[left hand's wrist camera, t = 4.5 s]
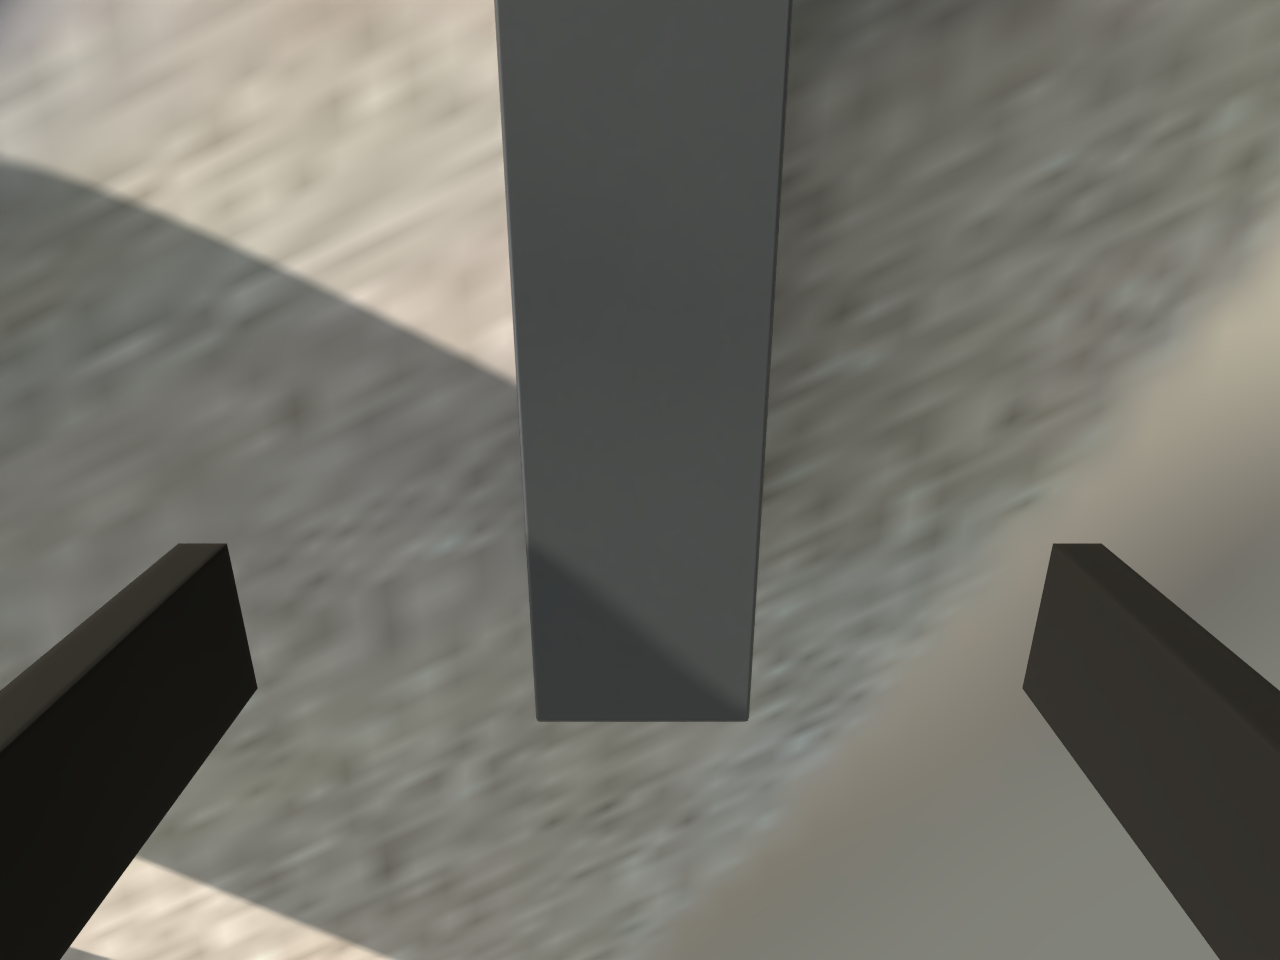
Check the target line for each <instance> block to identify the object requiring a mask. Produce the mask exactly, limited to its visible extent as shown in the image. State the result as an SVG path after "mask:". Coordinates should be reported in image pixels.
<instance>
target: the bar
mask: <svg viewBox="0 0 1280 960" xmlns="http://www.w3.org/2000/svg"><path fill="white" fill-rule="evenodd" d="M792 2H793V0H494V5H495V22H496V39H497V56H498V73H499V90H500V107H501V124H502V141H503V158H504V175H505V192H506V210H507V227H508V244H509V261H510V278H511V295H512V312H513V329H514V346H515V363H516V380H517V397H518V414H519V431H520V448H521V466H522V483H523V500H524V517H525V534H526V551H527V568H528V585H529V602H530V619H531V636H532V653H533V670H534V687H535V704H536V718H537V720H538V721H540V722H727V721H748V718H749V706H750V690H751V673H752V657H753V641H754V624H755V608H756V591H757V575H758V559H759V542H760V526H761V510H762V493H763V477H764V460H765V444H766V428H767V411H768V395H769V378H770V362H771V346H772V329H773V313H774V297H775V280H776V264H777V247H778V231H779V215H780V198H781V182H782V165H783V149H784V133H785V116H786V100H787V84H788V67H789V51H790V34H791V18H792Z"/></svg>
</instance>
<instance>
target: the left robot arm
mask: <svg viewBox="0 0 1280 960" xmlns="http://www.w3.org/2000/svg"><path fill="white" fill-rule="evenodd" d="M256 690H257V684H256V679H255V674H254V670H253V665H252V660H251V655H250V651H249V646H248V641H247V637H246V632H245V627H244V622H243V618H242V613H241V608H240V603H239V599H238V594H237V589H236V585H235V580H234V575H233V570H232V566H231V561H230V556H229V552H228V547H227V544H178V545H176V546H175V547H174V548H173V549H172V550H170V551H169V552H168V553H167V554H165V555H164V556H163V557H162V558H161V559H159V560H158V561H157V562H156V563H155V564H153V565H152V566H151V567H150V568H149V569H147V570H146V571H145V572H144V573H142V574H141V575H140V576H139V577H138V578H136V579H135V580H134V581H133V582H132V583H130V584H129V585H128V586H127V587H126V588H124V589H123V590H122V591H121V592H119V593H118V594H117V595H116V596H115V597H113V598H112V599H111V600H110V601H109V602H107V603H106V604H105V605H104V606H103V607H101V608H100V609H99V610H98V611H96V612H95V613H94V614H93V615H92V616H90V617H89V618H88V619H87V620H86V621H84V622H83V623H82V624H81V625H80V626H78V627H77V628H76V629H75V630H73V631H72V632H71V633H70V634H69V635H67V636H66V637H65V638H64V639H63V640H61V641H60V642H59V643H58V644H57V645H55V646H54V647H53V648H52V649H50V650H49V651H48V652H47V653H46V654H44V655H43V656H42V657H41V658H40V659H38V660H37V661H36V662H35V663H34V664H32V665H31V666H30V667H29V668H27V669H26V670H25V671H24V672H23V673H21V674H20V675H19V676H18V677H17V678H15V679H14V680H13V681H12V682H11V683H9V684H8V685H7V686H6V687H4V688H3V689H2V690H1V691H0V960H60V959H61V958H62V956H63V955H64V954H65V952H66V951H67V949H68V948H69V947H70V945H71V944H72V943H73V941H74V940H75V938H76V937H77V936H78V934H79V933H80V932H81V930H82V929H83V927H84V926H85V925H86V923H87V922H88V921H89V919H90V918H91V916H92V915H93V914H94V912H95V911H96V910H97V908H98V907H99V905H100V904H101V903H102V901H103V900H104V899H105V897H106V896H107V894H108V893H109V892H110V890H111V889H112V888H113V886H114V885H115V883H116V882H117V881H118V879H119V878H120V877H121V875H122V874H123V872H124V871H125V870H126V868H127V867H128V866H129V864H130V863H131V861H132V860H133V859H134V857H135V856H136V855H137V853H138V852H139V850H140V849H141V848H142V846H143V845H144V844H145V842H146V841H147V839H148V838H149V837H150V835H151V834H152V833H153V831H154V830H155V828H156V827H157V826H158V824H159V823H160V822H161V820H162V819H163V817H164V816H165V815H166V813H167V812H168V811H169V809H170V808H171V806H172V805H173V804H174V802H175V801H176V800H177V798H178V797H179V795H180V794H181V793H182V791H183V790H184V789H185V787H186V786H187V784H188V783H189V782H190V780H191V779H192V778H193V776H194V775H195V773H196V772H197V771H198V769H199V768H200V767H201V765H202V764H203V762H204V761H205V760H206V758H207V757H208V756H209V754H210V753H211V751H212V750H213V749H214V747H215V746H216V745H217V743H218V742H219V740H220V739H221V738H222V736H223V735H224V734H225V732H226V731H227V729H228V728H229V727H230V725H231V724H232V723H233V721H234V720H235V718H236V717H237V716H238V714H239V713H240V712H241V710H242V709H243V707H244V706H245V705H246V703H247V702H248V701H249V699H250V698H251V697H252V695H253V694H254V692H255V691H256ZM1023 690H1024V691H1025V692H1026V694H1027V695H1028V696H1029V698H1030V699H1031V701H1032V702H1033V703H1034V705H1035V706H1036V707H1037V709H1038V710H1039V712H1040V713H1041V714H1042V716H1043V717H1044V718H1045V720H1046V721H1047V723H1048V724H1049V725H1050V727H1051V728H1052V729H1053V731H1054V732H1055V734H1056V735H1057V736H1058V738H1059V739H1060V740H1061V742H1062V743H1063V745H1064V746H1065V747H1066V749H1067V750H1068V751H1069V753H1070V754H1071V756H1072V757H1073V758H1074V760H1075V761H1076V762H1077V764H1078V765H1079V767H1080V768H1081V769H1082V771H1083V772H1084V773H1085V775H1086V776H1087V778H1088V779H1089V780H1090V782H1091V783H1092V784H1093V786H1094V787H1095V789H1096V790H1097V791H1098V793H1099V794H1100V795H1101V797H1102V798H1103V800H1104V801H1105V802H1106V804H1107V805H1108V806H1109V808H1110V809H1111V811H1112V812H1113V813H1114V815H1115V816H1116V817H1117V819H1118V820H1119V822H1120V823H1121V824H1122V826H1123V827H1124V828H1125V830H1126V831H1127V833H1128V834H1129V835H1130V837H1131V838H1132V839H1133V841H1134V842H1135V844H1136V845H1137V846H1138V848H1139V849H1140V850H1141V852H1142V853H1143V855H1144V856H1145V857H1146V859H1147V860H1148V861H1149V863H1150V864H1151V866H1152V867H1153V868H1154V870H1155V871H1156V872H1157V874H1158V875H1159V877H1160V878H1161V879H1162V881H1163V882H1164V883H1165V885H1166V886H1167V888H1168V889H1169V890H1170V892H1171V893H1172V894H1173V896H1174V897H1175V899H1176V900H1177V901H1178V903H1179V904H1180V905H1181V907H1182V908H1183V910H1184V911H1185V912H1186V914H1187V915H1188V916H1189V918H1190V919H1191V921H1192V922H1193V923H1194V925H1195V926H1196V927H1197V929H1198V930H1199V932H1200V933H1201V934H1202V936H1203V937H1204V938H1205V940H1206V941H1207V943H1208V944H1209V945H1210V947H1211V948H1212V949H1213V951H1214V952H1215V954H1216V955H1217V956H1218V958H1219V959H1220V960H1280V691H1279V690H1278V689H1277V688H1275V687H1274V686H1273V685H1272V684H1271V683H1269V682H1268V681H1267V680H1266V679H1265V678H1263V677H1262V676H1261V675H1260V674H1259V673H1257V672H1256V671H1255V670H1254V669H1253V668H1251V667H1250V666H1249V665H1248V664H1246V663H1245V662H1244V661H1243V660H1242V659H1240V658H1239V657H1238V656H1237V655H1236V654H1234V653H1233V652H1232V651H1231V650H1230V649H1228V648H1227V647H1226V646H1225V645H1223V644H1222V643H1221V642H1220V641H1219V640H1217V639H1216V638H1215V637H1214V636H1213V635H1211V634H1210V633H1209V632H1208V631H1206V630H1205V629H1204V628H1203V627H1202V626H1200V625H1199V624H1198V623H1197V622H1196V621H1194V620H1193V619H1192V618H1191V617H1189V616H1188V615H1187V614H1186V613H1185V612H1184V611H1182V610H1181V609H1180V608H1179V607H1177V606H1176V605H1175V604H1174V603H1173V602H1171V601H1170V600H1169V599H1168V598H1166V597H1165V596H1164V595H1163V594H1162V593H1160V592H1159V591H1158V590H1157V589H1156V588H1154V587H1153V586H1152V585H1151V584H1150V583H1148V582H1147V581H1146V580H1145V579H1144V578H1142V577H1141V576H1140V575H1139V574H1138V573H1136V572H1135V571H1134V570H1133V569H1131V568H1130V567H1129V566H1128V565H1127V564H1125V563H1124V562H1123V561H1122V560H1121V559H1119V558H1118V557H1117V556H1116V555H1114V554H1113V553H1112V552H1111V551H1110V550H1108V549H1107V548H1106V547H1105V546H1104V545H1102V544H1053V547H1052V552H1051V556H1050V561H1049V566H1048V570H1047V575H1046V580H1045V585H1044V589H1043V594H1042V599H1041V604H1040V608H1039V613H1038V618H1037V622H1036V627H1035V632H1034V636H1033V641H1032V646H1031V651H1030V655H1029V660H1028V665H1027V670H1026V674H1025V679H1024V684H1023Z"/></svg>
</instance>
